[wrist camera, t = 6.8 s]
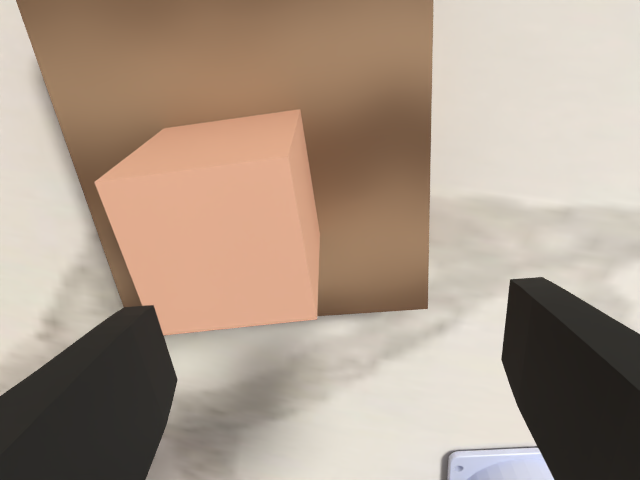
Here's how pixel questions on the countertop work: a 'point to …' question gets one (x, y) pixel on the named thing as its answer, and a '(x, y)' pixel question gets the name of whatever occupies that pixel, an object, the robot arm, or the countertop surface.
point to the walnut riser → (263, 98)
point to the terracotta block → (219, 223)
